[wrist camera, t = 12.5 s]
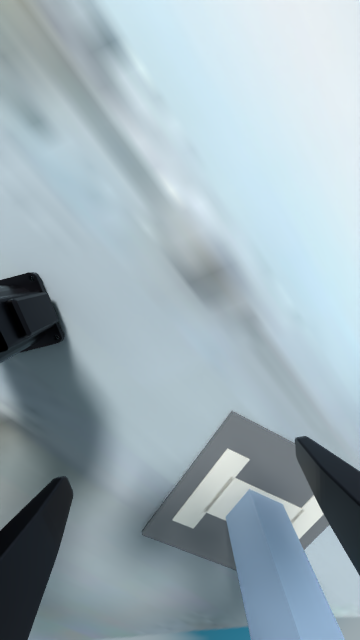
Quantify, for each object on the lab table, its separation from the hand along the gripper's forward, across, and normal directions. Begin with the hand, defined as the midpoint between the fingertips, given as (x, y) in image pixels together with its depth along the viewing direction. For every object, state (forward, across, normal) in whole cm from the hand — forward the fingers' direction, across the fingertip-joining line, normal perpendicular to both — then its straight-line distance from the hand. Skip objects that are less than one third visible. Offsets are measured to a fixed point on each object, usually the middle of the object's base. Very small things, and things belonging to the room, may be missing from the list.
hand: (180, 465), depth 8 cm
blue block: (+12, -5, +23) cm, 26 cm away
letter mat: (+13, -5, +23) cm, 27 cm away
